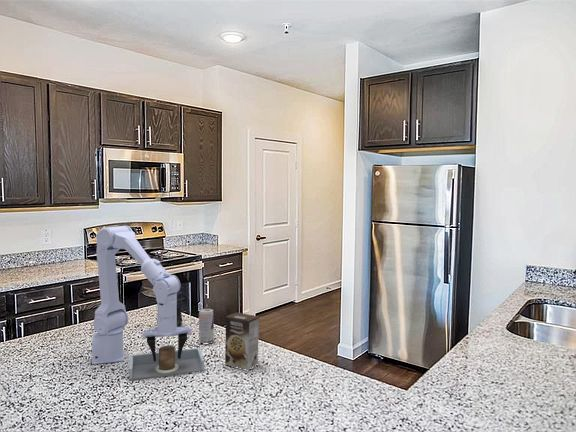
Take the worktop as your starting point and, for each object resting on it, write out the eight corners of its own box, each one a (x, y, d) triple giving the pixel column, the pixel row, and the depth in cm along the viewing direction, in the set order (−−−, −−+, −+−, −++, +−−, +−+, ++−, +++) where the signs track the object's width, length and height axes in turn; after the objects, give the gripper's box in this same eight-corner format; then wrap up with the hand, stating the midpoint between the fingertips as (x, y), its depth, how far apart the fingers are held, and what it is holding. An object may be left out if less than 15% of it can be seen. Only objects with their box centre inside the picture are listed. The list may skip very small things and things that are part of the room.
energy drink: (215, 340, 156) (215, 308, 155) (211, 345, 150) (211, 312, 150) (201, 339, 156) (201, 308, 156) (196, 344, 151) (197, 312, 150)
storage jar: (155, 326, 171) (155, 290, 170) (179, 323, 175) (179, 288, 174) (158, 333, 162) (158, 296, 161) (184, 330, 166) (184, 294, 165)
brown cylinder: (159, 371, 126) (159, 352, 125) (158, 365, 130) (158, 346, 130) (175, 369, 127) (175, 350, 127) (174, 363, 132) (174, 344, 131)
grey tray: (129, 381, 121) (129, 369, 121) (130, 366, 131) (130, 355, 131) (204, 371, 128) (204, 360, 128) (199, 358, 138) (199, 347, 138)
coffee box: (224, 365, 133) (224, 316, 132) (235, 359, 138) (236, 311, 138) (248, 372, 128) (248, 320, 128) (259, 364, 134) (259, 315, 133)
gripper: (142, 321, 122) (142, 366, 122) (192, 317, 126) (192, 361, 127) (142, 314, 128) (142, 357, 129) (190, 311, 133) (189, 352, 134)
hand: (167, 358), depth 129 cm, fingers open, 7 cm apart
